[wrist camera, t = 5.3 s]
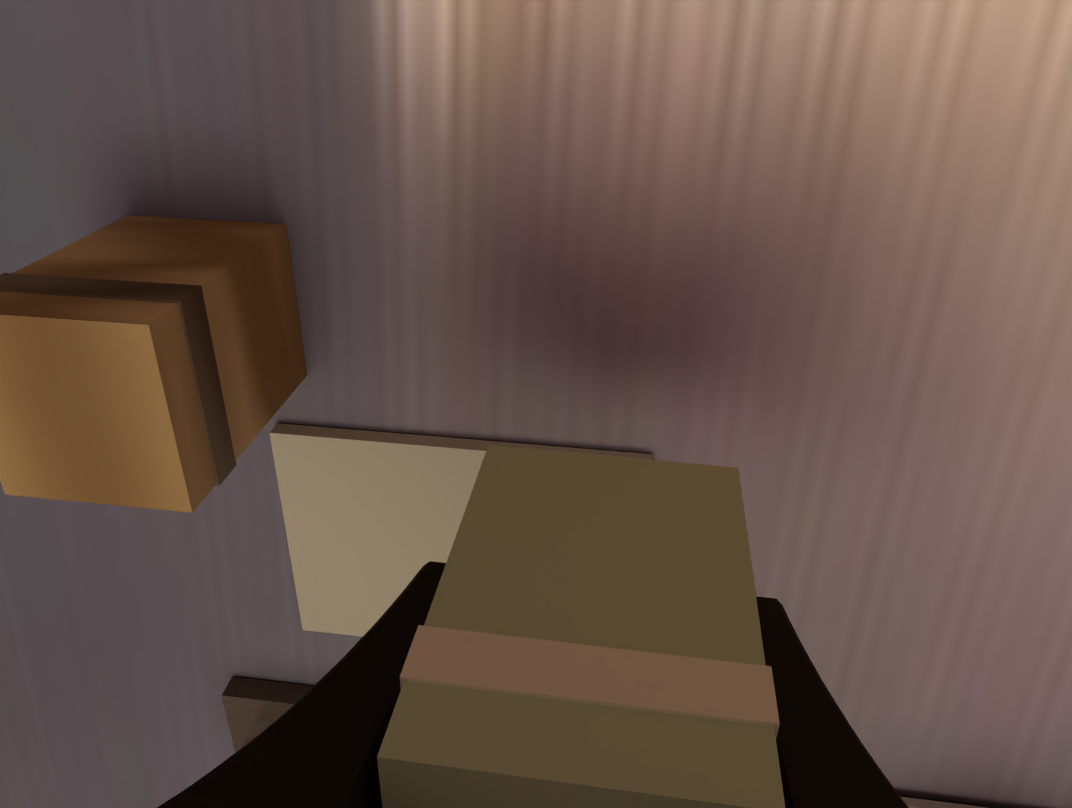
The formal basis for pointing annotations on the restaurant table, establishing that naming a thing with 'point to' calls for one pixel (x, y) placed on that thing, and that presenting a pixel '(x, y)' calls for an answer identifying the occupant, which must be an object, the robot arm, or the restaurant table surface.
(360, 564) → the pad
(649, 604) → the sage block
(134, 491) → the oak block
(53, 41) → the restaurant table surface
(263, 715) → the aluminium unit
